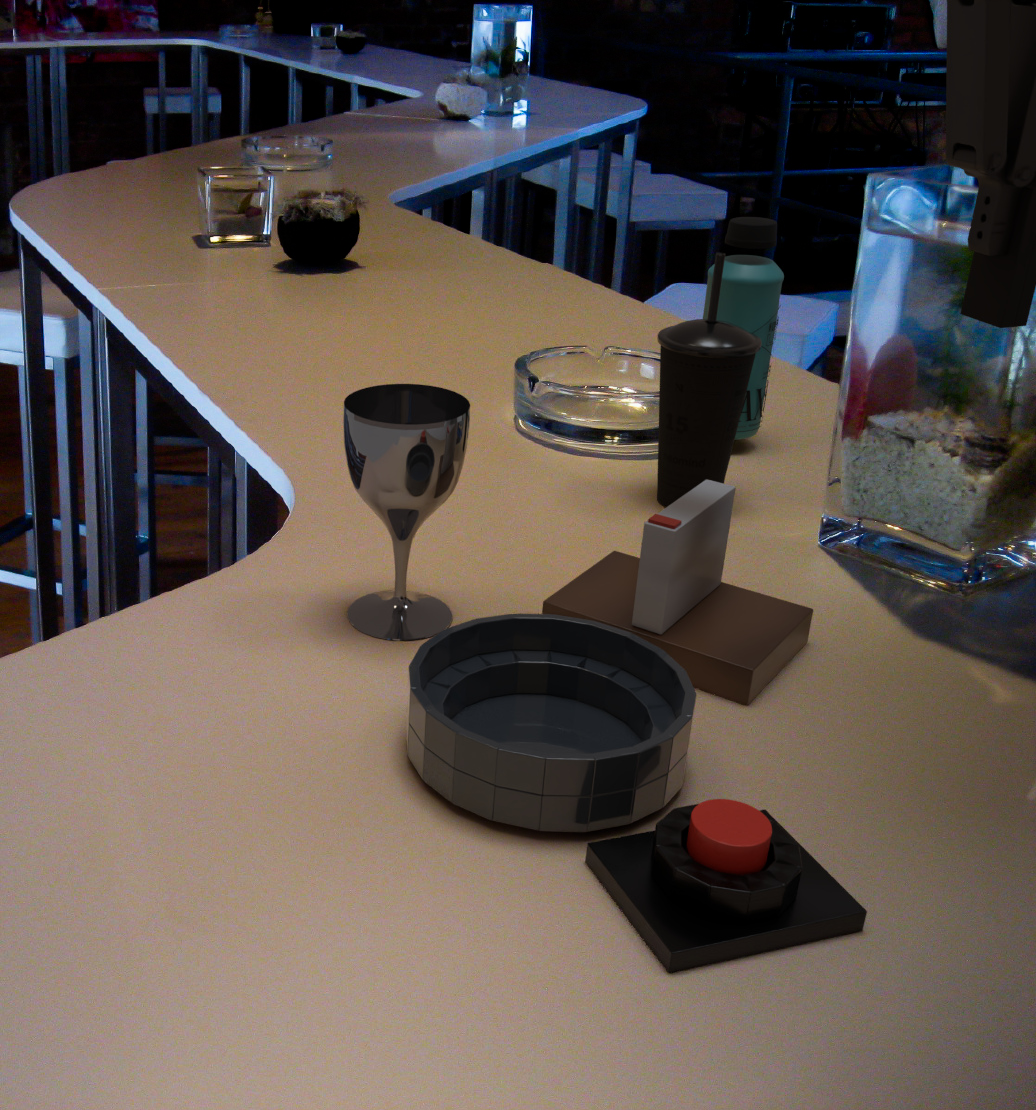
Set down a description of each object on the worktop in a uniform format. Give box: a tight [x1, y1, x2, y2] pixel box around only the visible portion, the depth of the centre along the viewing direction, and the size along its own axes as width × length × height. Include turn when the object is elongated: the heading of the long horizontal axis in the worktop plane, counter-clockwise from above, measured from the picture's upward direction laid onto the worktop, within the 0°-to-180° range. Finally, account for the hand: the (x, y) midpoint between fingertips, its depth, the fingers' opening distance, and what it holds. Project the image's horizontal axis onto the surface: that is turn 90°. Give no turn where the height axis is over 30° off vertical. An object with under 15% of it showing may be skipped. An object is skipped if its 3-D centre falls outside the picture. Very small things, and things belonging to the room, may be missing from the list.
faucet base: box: [541, 550, 814, 707], centre depth 84 cm, size 14×10×2 cm
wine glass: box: [342, 383, 471, 642], centre depth 84 cm, size 8×8×15 cm
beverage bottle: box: [702, 216, 785, 441], centre depth 113 cm, size 6×7×20 cm
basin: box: [405, 613, 697, 833], centre depth 71 cm, size 15×15×5 cm
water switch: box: [584, 803, 868, 975], centre depth 61 cm, size 10×8×3 cm
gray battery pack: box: [632, 479, 736, 634], centre depth 82 cm, size 9×2×7 cm, turn 140°
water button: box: [687, 798, 772, 875], centre depth 60 cm, size 4×4×2 cm
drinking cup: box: [656, 252, 762, 508], centre depth 101 cm, size 8×8×20 cm
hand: (992, 319), depth 63 cm, fingers closed
